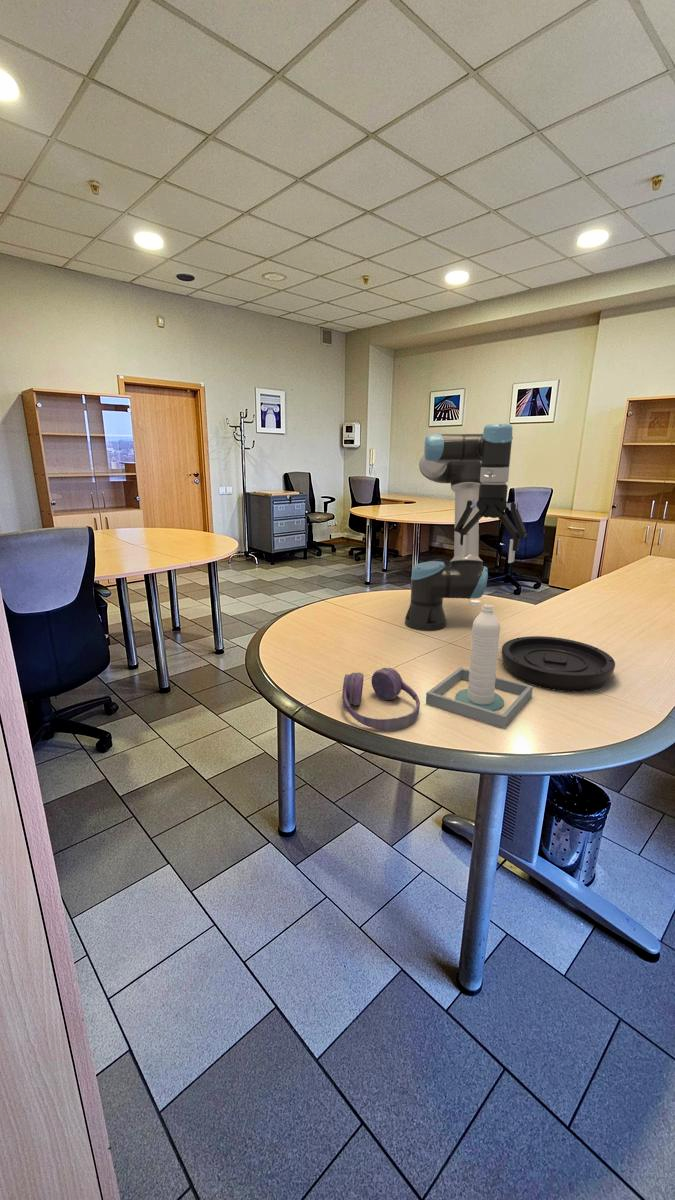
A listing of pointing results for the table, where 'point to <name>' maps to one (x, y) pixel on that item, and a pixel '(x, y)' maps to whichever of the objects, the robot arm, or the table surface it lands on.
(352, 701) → the headphones
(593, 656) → the round tray
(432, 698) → the teal-dotted square tray
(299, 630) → the table surface
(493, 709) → the teal round pad
